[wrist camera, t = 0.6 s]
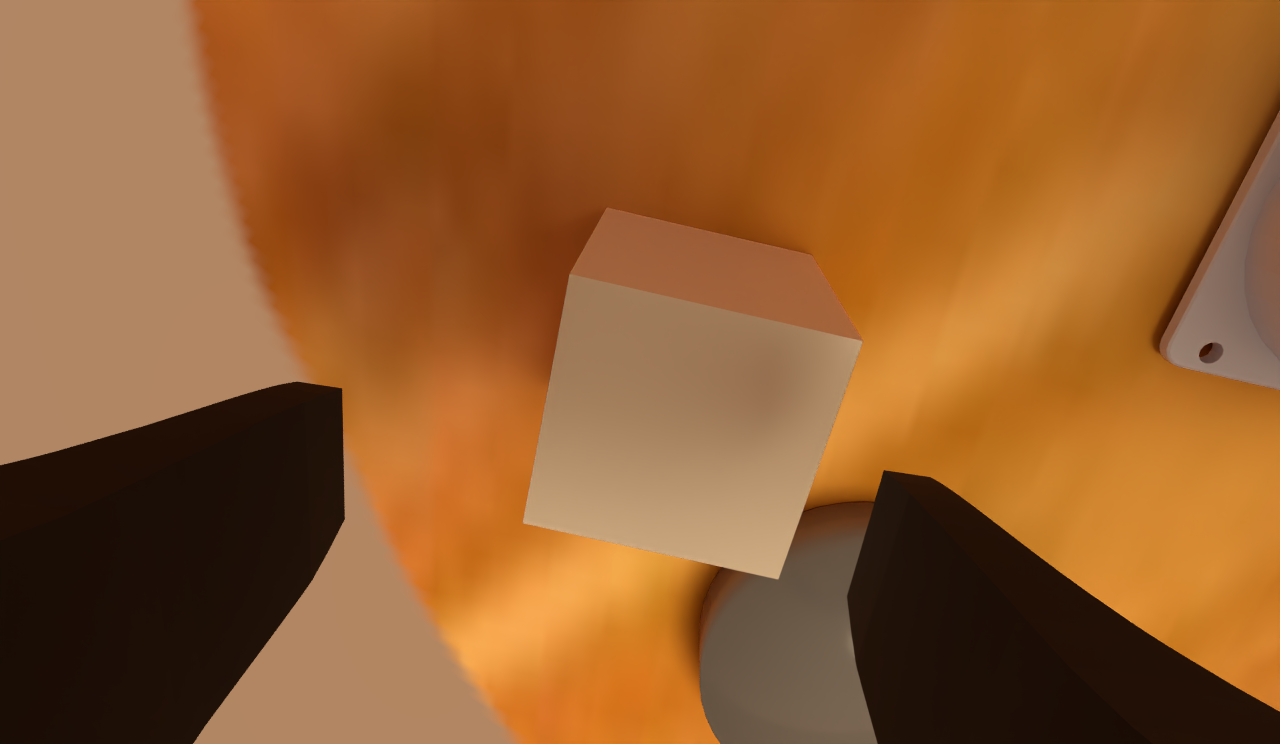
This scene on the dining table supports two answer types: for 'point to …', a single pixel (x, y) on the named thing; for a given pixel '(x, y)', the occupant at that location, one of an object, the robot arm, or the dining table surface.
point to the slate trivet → (788, 642)
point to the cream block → (690, 394)
